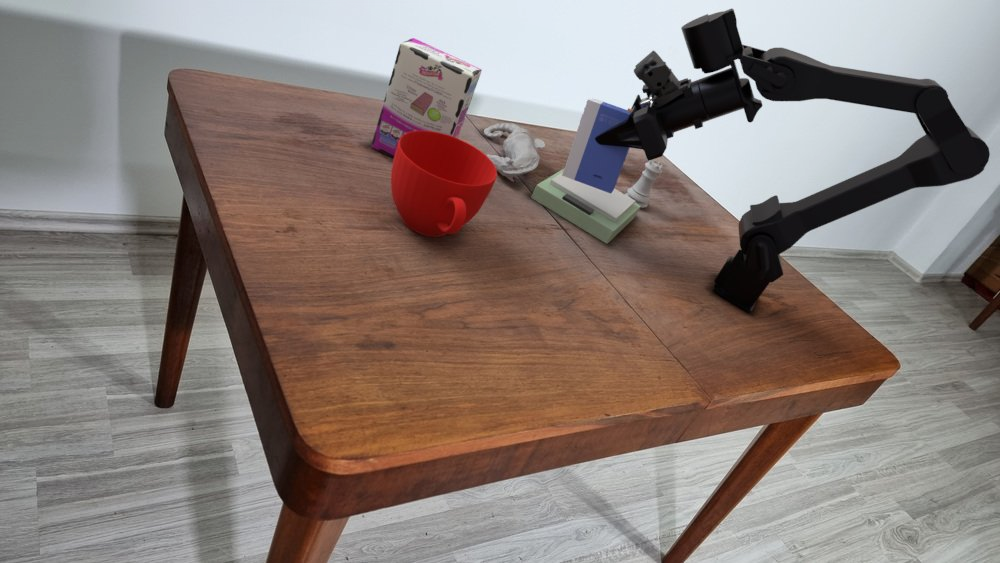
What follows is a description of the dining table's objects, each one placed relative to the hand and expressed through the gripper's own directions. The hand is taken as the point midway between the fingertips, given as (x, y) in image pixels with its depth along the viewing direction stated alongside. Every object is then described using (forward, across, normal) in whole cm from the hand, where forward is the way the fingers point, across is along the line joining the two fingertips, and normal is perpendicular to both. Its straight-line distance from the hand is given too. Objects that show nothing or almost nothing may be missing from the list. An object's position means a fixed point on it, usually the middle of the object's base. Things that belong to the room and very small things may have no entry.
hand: (597, 137), depth 103 cm
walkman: (+4, +1, +6) cm, 7 cm away
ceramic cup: (+20, +22, -1) cm, 30 cm away
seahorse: (+18, -10, +1) cm, 21 cm away
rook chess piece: (+2, -17, +17) cm, 24 cm away
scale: (+7, -5, +12) cm, 15 cm away
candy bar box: (+26, +5, -8) cm, 28 cm away
